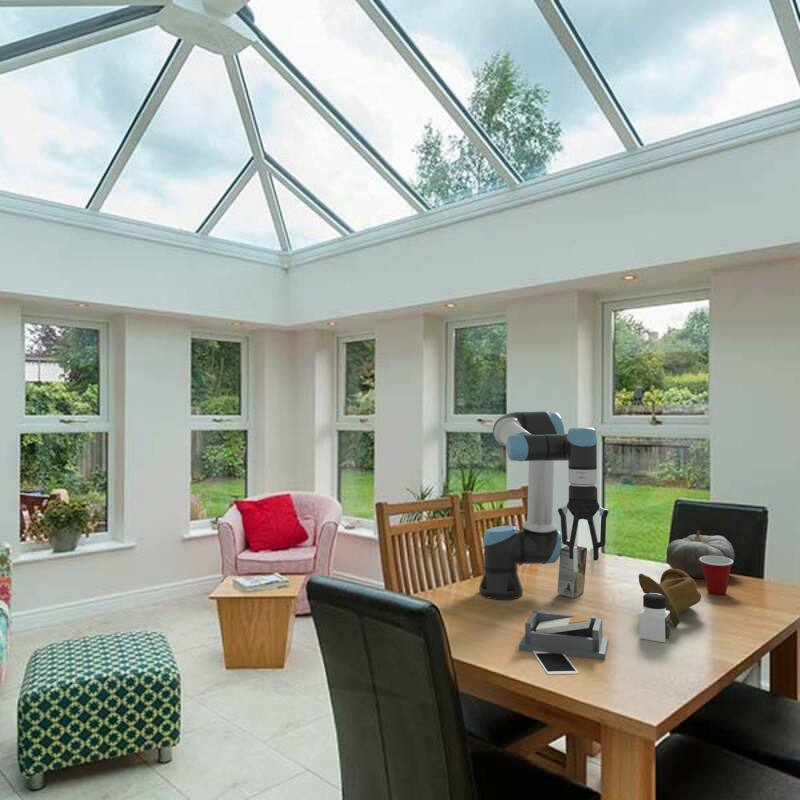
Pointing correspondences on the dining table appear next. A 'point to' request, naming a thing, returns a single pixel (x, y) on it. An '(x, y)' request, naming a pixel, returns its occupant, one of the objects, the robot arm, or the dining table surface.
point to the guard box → (565, 637)
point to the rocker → (564, 624)
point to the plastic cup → (716, 573)
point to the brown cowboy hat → (673, 591)
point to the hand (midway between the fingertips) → (584, 571)
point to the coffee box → (571, 572)
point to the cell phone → (555, 663)
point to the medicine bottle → (654, 618)
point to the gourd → (697, 552)
